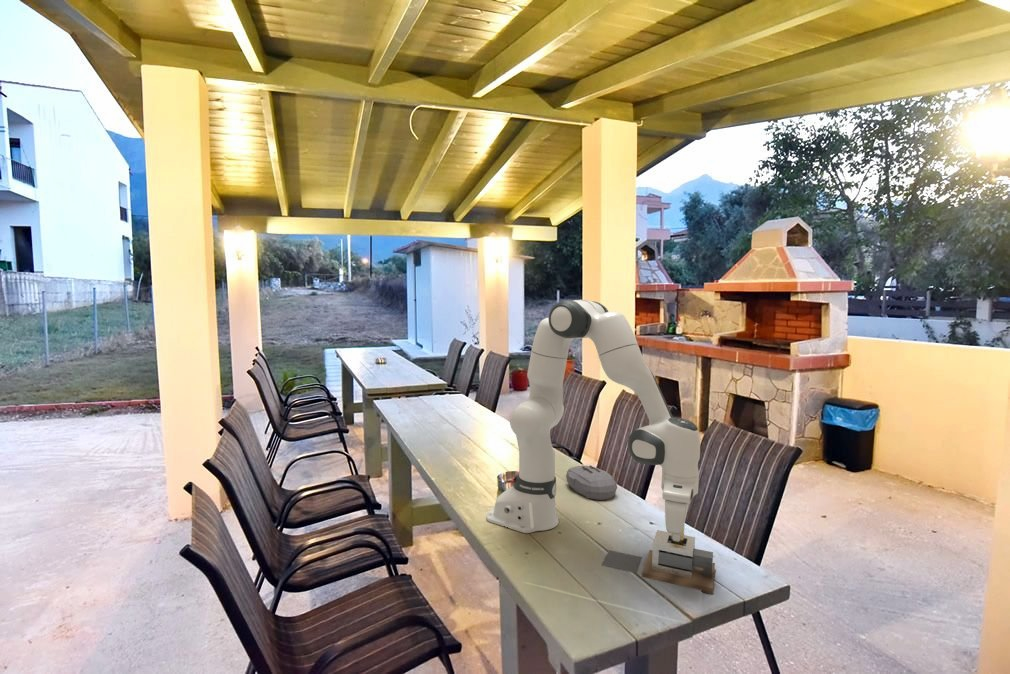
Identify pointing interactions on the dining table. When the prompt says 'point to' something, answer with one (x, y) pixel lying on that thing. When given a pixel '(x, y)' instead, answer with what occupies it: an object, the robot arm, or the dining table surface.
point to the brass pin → (680, 539)
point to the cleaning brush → (591, 482)
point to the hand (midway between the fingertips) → (677, 536)
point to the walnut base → (681, 577)
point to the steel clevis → (679, 556)
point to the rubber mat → (622, 561)
